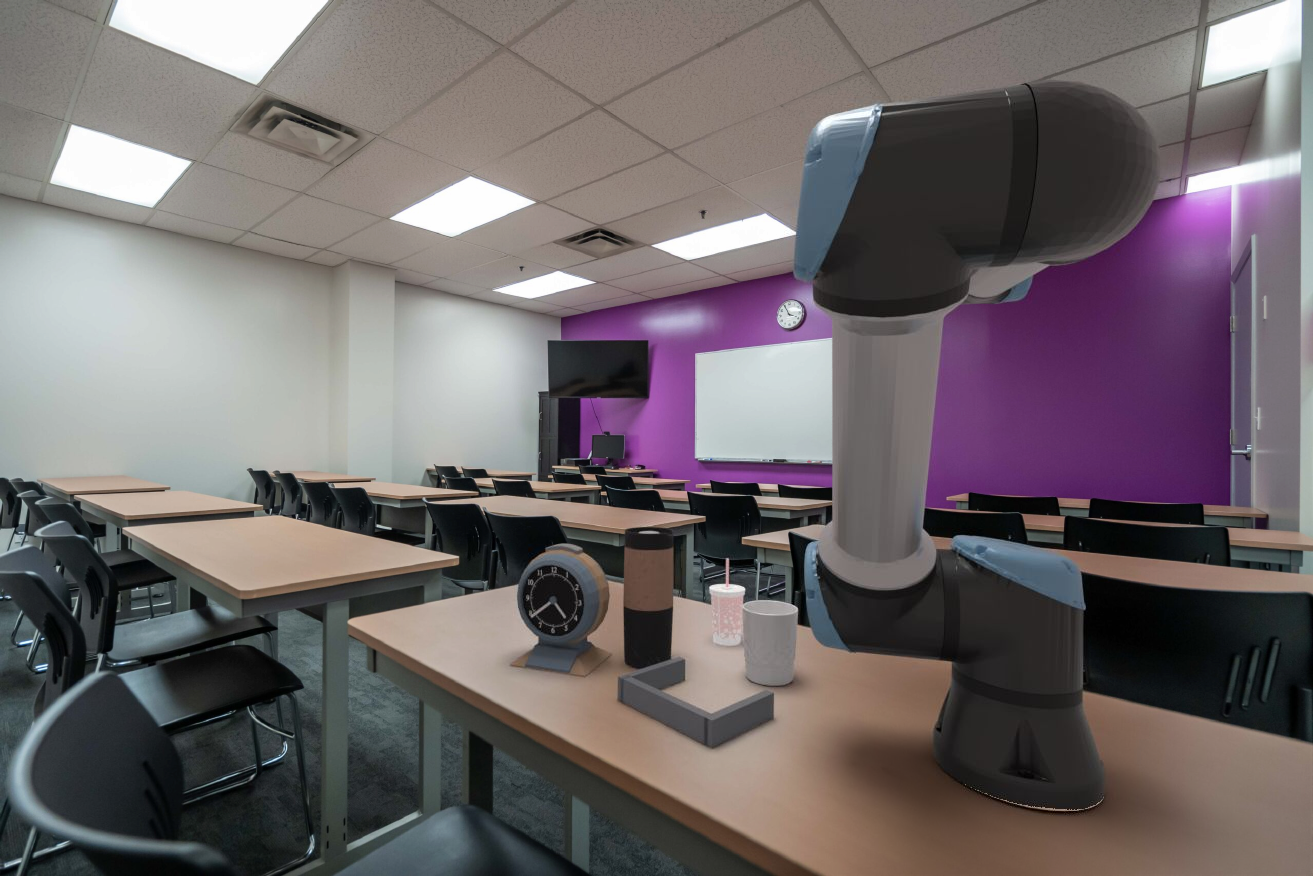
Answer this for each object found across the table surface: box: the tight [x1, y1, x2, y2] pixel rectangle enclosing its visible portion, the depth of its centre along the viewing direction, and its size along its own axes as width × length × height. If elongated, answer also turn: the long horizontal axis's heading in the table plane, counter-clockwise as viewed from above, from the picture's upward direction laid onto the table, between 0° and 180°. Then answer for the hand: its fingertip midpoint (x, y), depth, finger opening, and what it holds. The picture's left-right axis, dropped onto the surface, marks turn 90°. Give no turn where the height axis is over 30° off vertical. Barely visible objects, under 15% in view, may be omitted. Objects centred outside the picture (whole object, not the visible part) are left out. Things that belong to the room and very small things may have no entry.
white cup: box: [742, 599, 799, 687], centre depth 85 cm, size 8×8×10 cm
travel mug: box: [622, 526, 675, 670], centre depth 91 cm, size 8×8×20 cm
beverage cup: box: [708, 557, 746, 647], centre depth 101 cm, size 6×6×14 cm
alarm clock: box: [509, 543, 613, 678], centre depth 91 cm, size 14×10×18 cm
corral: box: [617, 656, 775, 749], centre depth 75 cm, size 11×16×3 cm
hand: (868, 517), depth 90 cm, fingers open, 2 cm apart
